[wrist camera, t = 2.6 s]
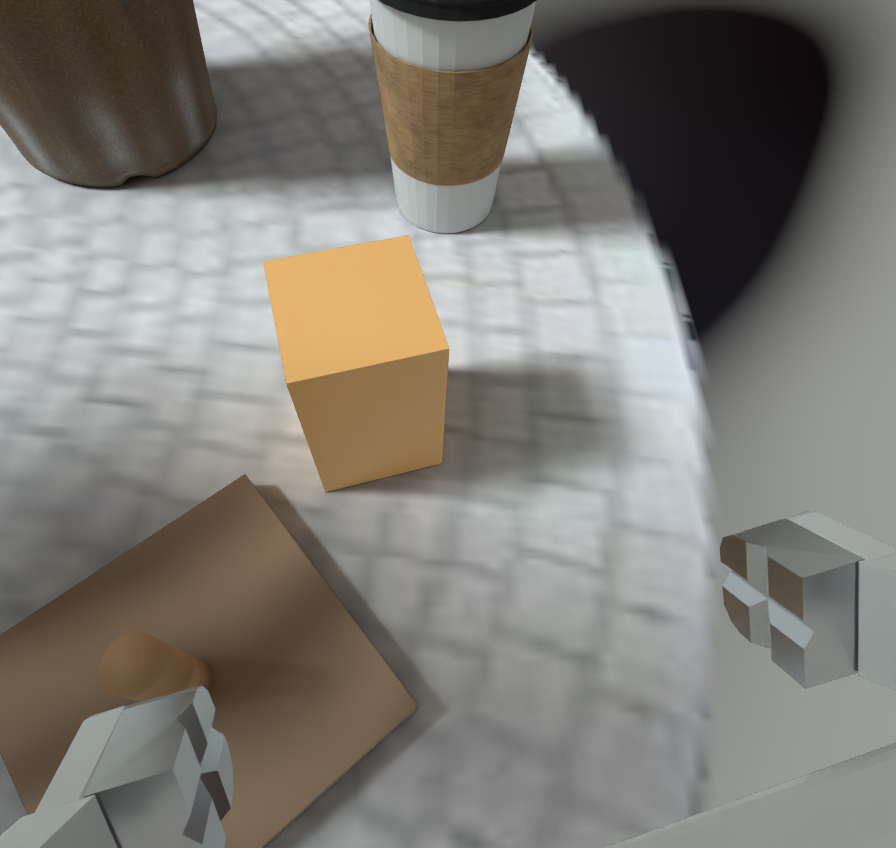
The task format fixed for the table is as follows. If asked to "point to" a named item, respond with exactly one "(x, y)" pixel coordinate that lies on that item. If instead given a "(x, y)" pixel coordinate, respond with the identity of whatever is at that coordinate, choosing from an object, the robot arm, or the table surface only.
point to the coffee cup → (448, 101)
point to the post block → (206, 661)
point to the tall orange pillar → (362, 358)
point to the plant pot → (104, 87)
